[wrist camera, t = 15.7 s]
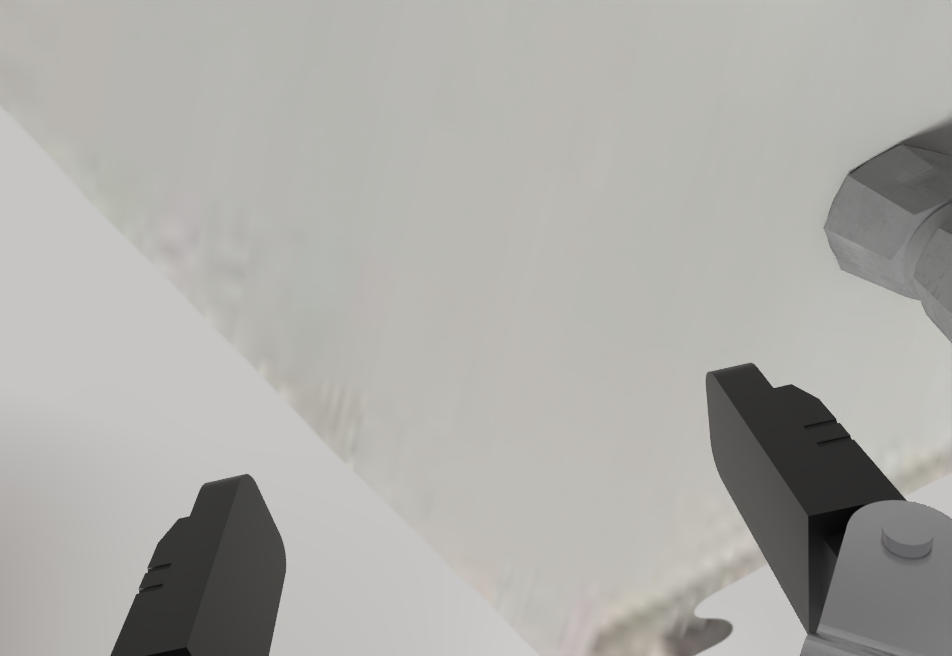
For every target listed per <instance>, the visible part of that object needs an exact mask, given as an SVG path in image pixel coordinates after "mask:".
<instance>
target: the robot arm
mask: <svg viewBox="0 0 952 656" xmlns="http://www.w3.org/2000/svg"><path fill="white" fill-rule="evenodd" d="M706 392H707V403H708V415H709V427H710V439H711V447H712V453H713V457H714V461H715V464H716V467H717V470H718V472H719V475H720V477H721V479H722V481H723V483H724V485H725V487H726V488H727V490H728V492H729V494H730V496H731V497H732V499H733V501H734V503H735V505H736V506H737V508H738V510H739V512H740V514H741V515H742V517H743V519H744V521H745V522H746V524H747V526H748V528H749V530H750V531H751V533H752V535H753V537H754V539H755V540H756V542H757V544H758V546H759V548H760V549H761V551H762V553H763V555H764V557H765V558H766V560H767V562H768V564H769V566H770V567H771V569H772V571H773V573H774V574H775V576H776V578H777V580H778V581H779V583H780V585H781V587H782V589H783V591H784V592H785V594H786V596H787V598H788V599H789V601H790V603H791V605H792V607H793V608H794V610H795V612H796V614H797V616H798V618H799V619H800V621H801V623H802V625H803V627H804V628H805V630H806V632H807V634H808V635H807V637H806V639H805V642H804V644H803V647H802V651H801V654H800V656H952V519H951V518H950V517H948V516H947V515H945V514H944V513H942V512H940V511H938V510H936V509H934V508H931V507H929V506H926V505H923V504H919V503H915V502H909V501H906V499H905V498H904V497H903V496H902V495H901V494H900V492H899V491H898V490H897V489H896V488H895V487H894V485H893V484H892V483H891V482H890V481H889V480H888V479H887V477H886V476H885V475H884V474H883V473H882V472H881V470H880V469H879V468H878V467H877V466H876V465H875V463H874V462H873V461H872V460H871V459H870V458H869V456H868V455H867V454H866V453H865V452H864V451H863V450H862V448H861V447H860V446H859V445H858V444H857V443H856V441H855V440H852V439H851V437H850V434H849V433H848V432H847V431H846V430H845V429H844V428H843V426H842V425H841V424H840V423H837V421H836V418H835V417H834V416H833V415H832V414H831V412H830V411H829V410H828V409H827V408H826V407H825V405H824V404H823V403H822V402H821V401H820V400H819V399H818V398H816V397H814V396H812V395H811V394H809V393H807V392H805V391H803V390H801V389H799V388H797V387H796V386H794V385H792V384H791V385H786V386H782V387H777V388H773V387H772V386H771V384H770V383H769V382H768V381H767V379H766V378H765V377H764V376H763V374H762V373H761V372H760V370H759V369H758V368H757V367H756V366H755V365H754V364H753V363H747V364H743V365H738V366H734V367H729V368H725V369H720V370H716V371H711V372H708V373H707V375H706ZM285 573H286V555H285V549H284V545H283V541H282V538H281V536H280V533H279V531H278V529H277V527H276V525H275V523H274V521H273V518H272V516H271V514H270V512H269V510H268V508H267V506H266V504H265V501H264V500H263V497H262V495H261V493H260V491H259V489H258V487H257V484H256V482H255V481H254V479H253V478H252V477H251V476H250V475H248V474H245V475H240V476H236V477H231V478H226V479H222V480H218V481H213V482H209V483H205V484H204V485H203V486H202V487H201V489H200V492H199V494H198V497H197V499H196V502H195V504H194V507H193V510H192V512H191V515H190V516H189V517H185V518H180V519H178V520H177V522H176V523H175V524H174V525H173V526H172V528H171V529H170V530H169V531H168V532H167V533H166V534H165V536H164V537H163V538H162V539H161V540H160V542H159V543H158V544H157V547H156V549H155V552H154V554H153V556H152V559H151V561H150V563H149V566H148V573H146V574H145V575H144V578H143V580H142V582H141V585H140V587H139V594H136V596H135V599H134V601H133V604H132V606H131V608H130V611H129V613H128V616H127V618H126V620H125V623H124V625H123V628H122V630H121V632H120V634H119V637H118V639H117V641H116V644H115V646H114V649H113V651H112V653H111V656H269V652H270V646H271V642H272V637H273V632H274V627H275V622H276V617H277V612H278V608H279V602H280V598H281V593H282V588H283V583H284V577H285Z"/></svg>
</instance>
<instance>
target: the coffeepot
mask: <svg viewBox="0 0 952 656" xmlns="http://www.w3.org/2000/svg"><path fill="white" fill-rule="evenodd" d="M824 230H825V232H826V235H827V237H828V241H829V244H830V247H831V249H832V251H833V253H834V254H835V256H836V258H837V261H838V263H839V265H840V268H841V270H843V271H846V272H848V273H851V274H853V275H855V276H858V277H860V278H862V279H865V280H867V281H870V282H872V283H874V284H877V285H879V286H881V287H884V288H886V289H888V290H891V291H893V292H896V293H898V294H900V295H903V296H905V297H909V298H912V299H916V300H920V301H921V303H922V306H923V308H924V310H925V312H926V315H927V316H928V317H929V318H930V319H931V320H932V322H933V323H934V324H935V325H936V326H937V327H938V328H939V329H940V331H941V332H942V333H943V334H944V335H945V336H946V337H947V338H948V339H949V341H950V342H951V343H952V156H950V155H946V154H942V153H937V152H933V151H930V150H926V149H920V148H915V147H911V146H907V145H902V144H901V145H899V146H897V147H895V148H893V149H891V150H889V151H887V152H885V153H883V154H881V155H879V156H876V157H874V158H872V159H871V160H869V161H868V162H866V163H865V164H863V165H862V166H860V167H859V168H858V169H857V170H856V171H855V172H853V173H851V174H849V175H848V176H847V178H846V179H845V181H844V183H843V184H842V186H841V188H840V189H839V191H838V193H837V195H836V197H835V198H834V200H833V203H832V205H831V208H830V211H829V215H828V220H827V222H826V224H825V226H824Z"/></svg>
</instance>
